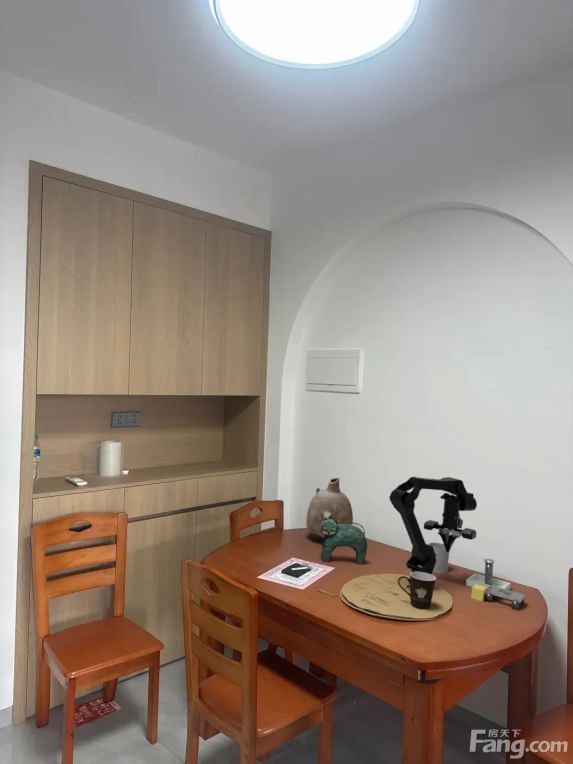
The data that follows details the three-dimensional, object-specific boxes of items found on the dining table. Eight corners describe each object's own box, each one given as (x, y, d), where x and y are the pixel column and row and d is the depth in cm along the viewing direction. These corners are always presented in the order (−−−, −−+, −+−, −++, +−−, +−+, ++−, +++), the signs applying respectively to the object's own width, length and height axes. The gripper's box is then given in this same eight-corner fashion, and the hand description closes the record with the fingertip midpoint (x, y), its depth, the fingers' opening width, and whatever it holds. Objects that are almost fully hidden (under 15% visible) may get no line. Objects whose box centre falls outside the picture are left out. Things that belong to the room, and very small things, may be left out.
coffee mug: (437, 607, 185) (440, 577, 185) (425, 613, 179) (428, 582, 179) (407, 596, 193) (409, 567, 193) (394, 601, 186) (397, 572, 187)
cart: (525, 603, 196) (526, 593, 196) (519, 610, 188) (519, 600, 188) (490, 593, 203) (491, 584, 203) (483, 600, 195) (484, 590, 195)
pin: (492, 588, 207) (493, 562, 208) (482, 586, 209) (483, 560, 209) (494, 585, 210) (495, 560, 211) (484, 583, 212) (485, 558, 213)
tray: (502, 596, 202) (503, 589, 202) (465, 585, 209) (466, 579, 210) (510, 589, 210) (510, 582, 210) (474, 579, 218) (474, 573, 218)
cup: (439, 566, 232) (441, 542, 232) (451, 572, 224) (453, 548, 225) (422, 566, 229) (424, 542, 229) (434, 573, 221) (436, 548, 222)
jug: (300, 532, 266) (305, 471, 266) (342, 534, 270) (347, 474, 270) (311, 548, 242) (317, 480, 242) (357, 549, 246) (363, 483, 246)
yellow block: (482, 601, 194) (483, 590, 194) (471, 598, 197) (472, 587, 197) (486, 598, 198) (487, 587, 198) (475, 595, 201) (476, 584, 201)
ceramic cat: (318, 562, 222) (322, 513, 223) (316, 557, 229) (320, 509, 229) (366, 566, 223) (370, 517, 223) (363, 561, 230) (367, 513, 230)
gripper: (482, 513, 210) (478, 554, 210) (435, 503, 221) (432, 542, 221) (473, 517, 201) (469, 559, 201) (424, 507, 212) (421, 547, 212)
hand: (447, 552), depth 209 cm, fingers closed
